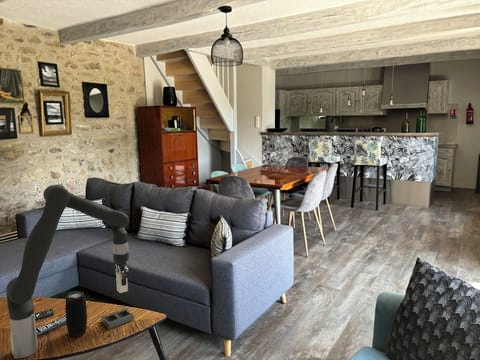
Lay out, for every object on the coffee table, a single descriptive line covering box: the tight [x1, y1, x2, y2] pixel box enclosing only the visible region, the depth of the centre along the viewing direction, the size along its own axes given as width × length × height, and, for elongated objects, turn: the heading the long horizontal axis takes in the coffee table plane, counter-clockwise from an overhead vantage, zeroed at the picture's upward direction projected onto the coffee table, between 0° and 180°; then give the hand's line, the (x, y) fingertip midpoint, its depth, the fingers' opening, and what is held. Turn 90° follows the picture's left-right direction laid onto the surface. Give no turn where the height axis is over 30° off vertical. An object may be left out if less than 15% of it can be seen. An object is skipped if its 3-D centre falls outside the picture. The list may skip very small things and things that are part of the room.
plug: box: [115, 271, 129, 294], centre depth 185 cm, size 5×4×10 cm
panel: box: [100, 308, 135, 330], centre depth 185 cm, size 13×10×3 cm
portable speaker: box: [64, 290, 88, 338], centre depth 172 cm, size 9×9×20 cm
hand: (122, 283), depth 185 cm, fingers closed on plug, 4 cm apart
